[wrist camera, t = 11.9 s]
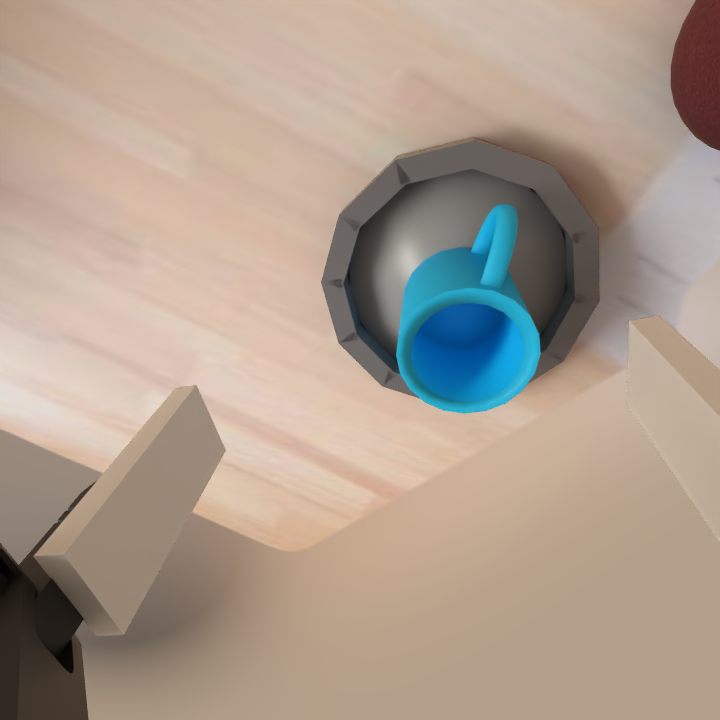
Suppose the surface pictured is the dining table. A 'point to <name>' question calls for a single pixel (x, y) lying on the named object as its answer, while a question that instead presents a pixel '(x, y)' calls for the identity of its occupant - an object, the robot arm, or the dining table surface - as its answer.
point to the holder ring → (459, 229)
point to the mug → (468, 324)
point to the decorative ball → (699, 72)
